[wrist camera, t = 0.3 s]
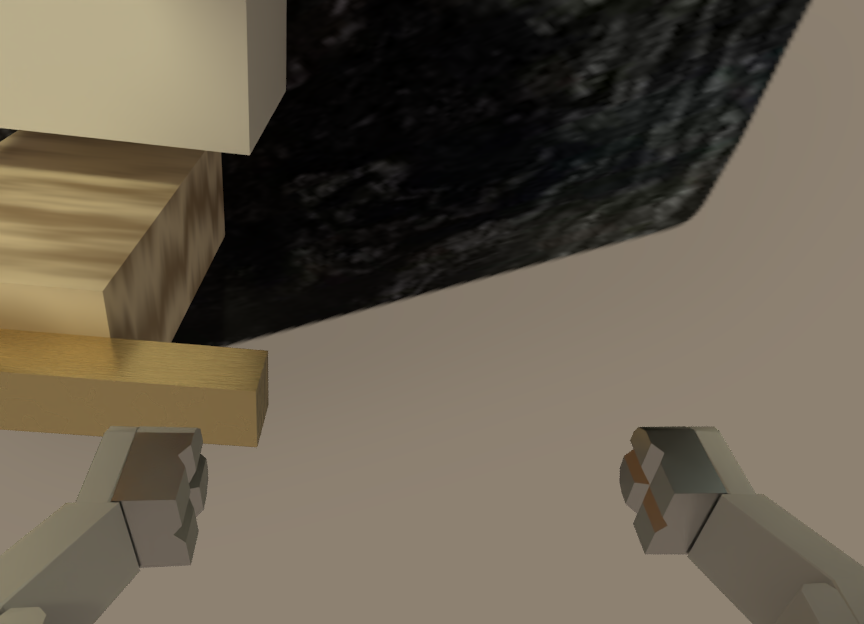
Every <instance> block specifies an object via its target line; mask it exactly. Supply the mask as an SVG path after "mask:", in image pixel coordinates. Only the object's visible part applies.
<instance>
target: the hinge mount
mask: <svg viewBox="0 0 864 624" xmlns="http://www.w3.org/2000/svg"><path fill="white" fill-rule="evenodd" d="M286 6H287V0H0V128H7V129H16V130H25V131H34V132H43V133H52V134H61V135H70V136H79V137H88V138H98V139H107V140H116V141H125V142H134V143H143V144H152V145H161V146H170V147H179V148H188V149H197V150H206V151H215V152H224V153H233V154H242V155H250V154H251V152H252V150H253V149H254V147H255V145H256V143H257V141H258V140H259V138H260V136H261V134H262V133H263V131H264V129H265V127H266V125H267V124H268V122H269V120H270V118H271V117H272V115H273V113H274V111H275V109H276V108H277V106H278V104H279V102H280V101H281V99H282V97H283V95H284V93H285V92H286Z"/></svg>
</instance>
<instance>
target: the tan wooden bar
mask: <svg viewBox="0 0 864 624" xmlns="http://www.w3.org/2000/svg"><path fill="white" fill-rule="evenodd" d="M267 408H268V351H264V350H251V349H240V348H228V347H216V346H204V345H192V344H180V343H168V342H156V341H144V340H132V339H120V338H108V337H96V336H84V335H72V334H59V333H47V332H35V331H23V330H11V329H0V429H1V430H16V431H30V432H45V433H59V434H60V433H61V434H73V435H90V436H102V437H103V435H104V433H105V432H106V431H107V430H108V429H109V427H110V426H129V427H140V426H147V427H189V428H199V429H201V434H202V438H203V443H204V444H219V445H233V446H248V447H257V446H258V442H259V438H260V435H261V430H262V427H263V423H264V419H265V415H266V412H267Z"/></svg>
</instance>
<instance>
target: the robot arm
mask: <svg viewBox="0 0 864 624" xmlns="http://www.w3.org/2000/svg"><path fill="white" fill-rule="evenodd" d="M630 441H631V443H632V446H633V450H631V451H630V452H629V453H628V454H626V455H625V456H624V458H623V461H622V464H621V466H620V487H621V492H622V495H623V498H624V500H625V503H626V504H627V505H628V506H629V507H630V508H631V509H632V510H634V511H635V512H636V513H637V516H636V518H635V520H634V523H633V524H634V527H635V530H636V532H637V535H638V537H639V540H640V543H641V545H642V548H643V550H644V553H645V554H688V558H689V559H690V560H691V561H692V562H693V563H694V564H695V565H696V566H697V567H698V568H699V569H700V570H701V571H702V572H703V573H704V574H705V575H706V576H707V577H708V578H709V579H710V580H711V581H712V583H714V585H716V586H717V588H718V589H719V590H720V591H721V592H722V593H723V594H724V595H725V596H726V597H727V598H728V599H729V600H730V601H731V602H732V603H733V604H734V605H735V606H736V607H737V608H738V609H739V610H740V611H741V612H742V613H743V614H744V615H745V616H746V617H747V618H748V619H749V620H750V621H751V622H752V624H864V567H863V566H862V565H861V564H859V563H858V562H856V561H855V560H854V559H852V558H851V557H849V556H848V555H847V554H845V553H844V552H843V551H841V550H840V549H838V548H837V547H836V546H834V545H833V544H832V543H830V542H829V541H827V540H826V539H825V538H823V537H822V536H820V535H819V534H818V533H816V532H815V531H814V530H812V529H811V528H809V527H808V526H806V525H805V524H804V523H802V522H801V521H800V520H798V519H797V518H796V517H794V516H793V515H791V514H790V513H788V512H787V511H786V510H785V509H783V508H782V507H780V506H779V505H777V504H776V503H775V502H773V501H772V500H771V499H769V498H768V497H766V496H765V495H764V494H756V493H755V492H754V490H753V488H752V486H751V485H750V483H749V481H748V480H747V478H746V476H745V475H744V473H743V471H742V469H741V468H740V466H739V464H738V462H737V461H736V459H735V457H734V455H733V454H732V452H731V450H730V449H729V447H728V445H727V443H726V442H725V440H724V438H723V437H722V435H721V433H720V432H719V430H717V429H716V428H715V427H638V428H637V429H636V430H635V431H634V433H633V435H632V437H631V440H630ZM202 444H203V438H202V434H201V429H199V428H189V427H147V426H140V427H129V426H110V427H109V429H108V430H107V431H106V432H105V433H104V435H103V437H102V440H101V442H100V444H99V447H98V449H97V452H96V454H95V456H94V459H93V461H92V464H91V466H90V468H89V471H88V473H87V476H86V478H85V481H84V483H83V485H82V488H81V490H80V492H79V495H78V497H77V500H76V502H75V503H66V504H64V505H63V506H62V507H61V508H59V509H58V510H57V511H56V512H54V513H53V514H52V515H51V516H49V517H48V518H47V519H46V520H44V521H43V522H42V523H40V524H39V525H38V526H37V527H35V528H34V529H33V530H32V531H30V533H28V534H27V535H25V536H24V537H23V538H22V539H20V540H19V541H18V542H17V543H15V544H14V545H13V546H12V547H10V548H9V549H8V550H7V551H5V552H4V553H3V554H2V555H0V624H93V623H95V622H96V620H97V619H98V618H99V617H100V616H101V615H102V613H103V612H104V611H105V610H106V609H107V608H108V607H109V605H110V604H111V603H112V602H113V601H114V600H115V599H116V598H117V596H118V595H119V594H120V593H121V592H122V591H123V590H124V588H125V587H126V586H127V585H128V584H129V583H130V582H131V580H132V579H133V578H134V577H135V576H136V575H137V574H138V573H139V571H140V569H139V568H144V567H164V566H182V565H191V562H192V558H193V553H194V549H195V545H196V540H197V536H198V526H197V521H196V517H197V516H198V515H199V514H200V513H201V512H202V511H203V510H204V505H205V500H206V494H207V484H208V469H207V468H208V467H207V461H206V458H205V457H204V456H203V455H201V454H200V453H201V448H202Z"/></svg>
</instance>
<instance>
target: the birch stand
mask: <svg viewBox="0 0 864 624" xmlns="http://www.w3.org/2000/svg"><path fill="white" fill-rule="evenodd" d="M224 237H225V223H224V202H223V181H222V161H221V152H215V151H206V150H197V149H188V148H179V147H170V146H161V145H152V144H143V143H134V142H125V141H116V140H107V139H98V138H88V137H79V136H70V135H61V134H52V133H43V132H34V131H25V130H18V131H17V132H15V133H13V134H12V135H10V136H9V137H7V138H6V139H4V140H3V141H1V142H0V329H11V330H23V331H35V332H47V333H59V334H72V335H84V336H96V337H108V338H120V339H132V340H144V341H156V342H168V343H171V341H172V339H173V337H174V335H175V334H176V332H177V330H178V328H179V326H180V324H181V322H182V320H183V318H184V316H185V314H186V312H187V310H188V308H189V306H190V304H191V302H192V300H193V298H194V296H195V294H196V292H197V290H198V288H199V286H200V284H201V282H202V280H203V278H204V276H205V274H206V272H207V270H208V268H209V266H210V264H211V262H212V260H213V258H214V256H215V254H216V252H217V250H218V248H219V246H220V244H221V242H222V240H223V239H224Z"/></svg>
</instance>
